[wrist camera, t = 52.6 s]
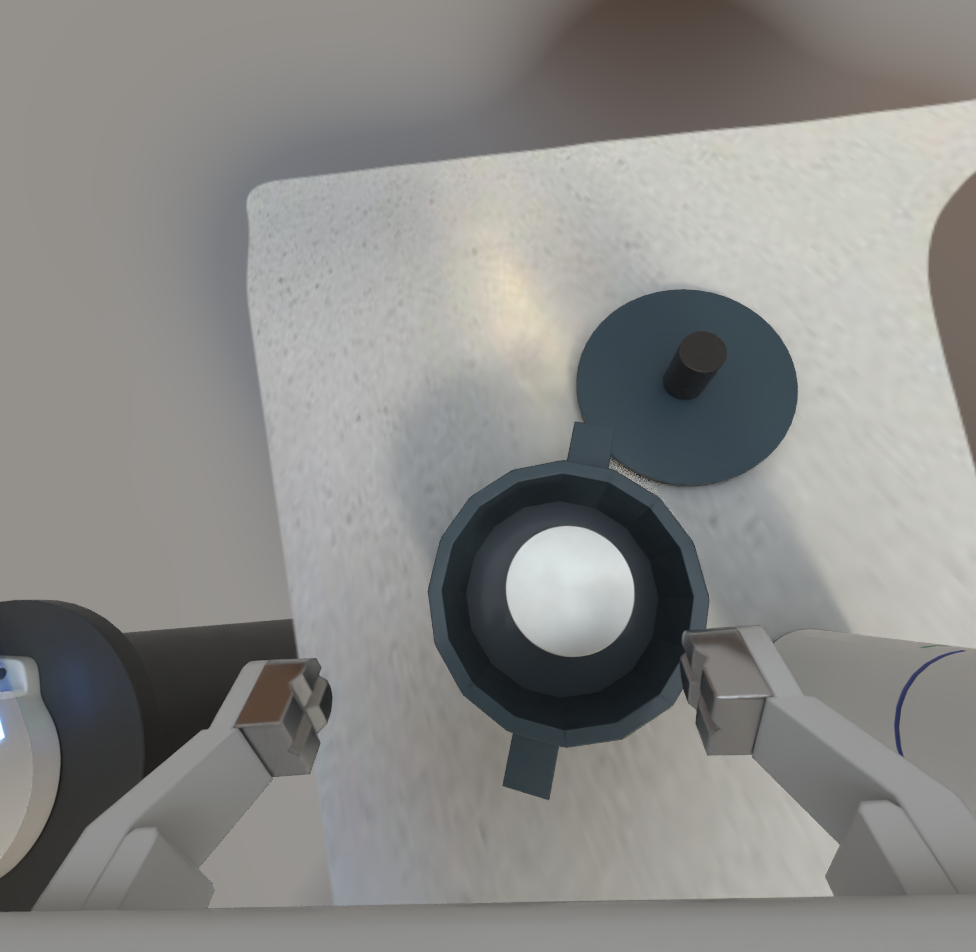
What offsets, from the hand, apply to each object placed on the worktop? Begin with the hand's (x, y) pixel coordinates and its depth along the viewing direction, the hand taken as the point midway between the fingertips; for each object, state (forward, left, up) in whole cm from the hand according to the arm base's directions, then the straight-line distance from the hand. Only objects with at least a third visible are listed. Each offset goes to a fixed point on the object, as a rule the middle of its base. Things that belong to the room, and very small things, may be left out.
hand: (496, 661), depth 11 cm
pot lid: (+8, +19, -23) cm, 31 cm away
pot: (+2, +2, -24) cm, 24 cm away
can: (+2, +2, -23) cm, 23 cm away
